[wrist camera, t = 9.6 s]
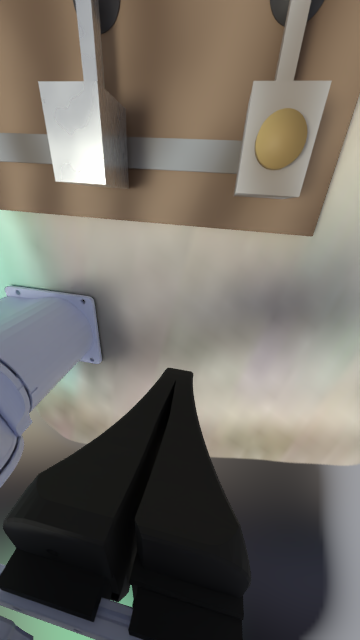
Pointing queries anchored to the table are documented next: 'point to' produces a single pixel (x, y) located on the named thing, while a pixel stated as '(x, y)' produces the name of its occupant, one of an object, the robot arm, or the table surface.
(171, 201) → the gauge board
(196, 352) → the table surface
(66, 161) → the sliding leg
